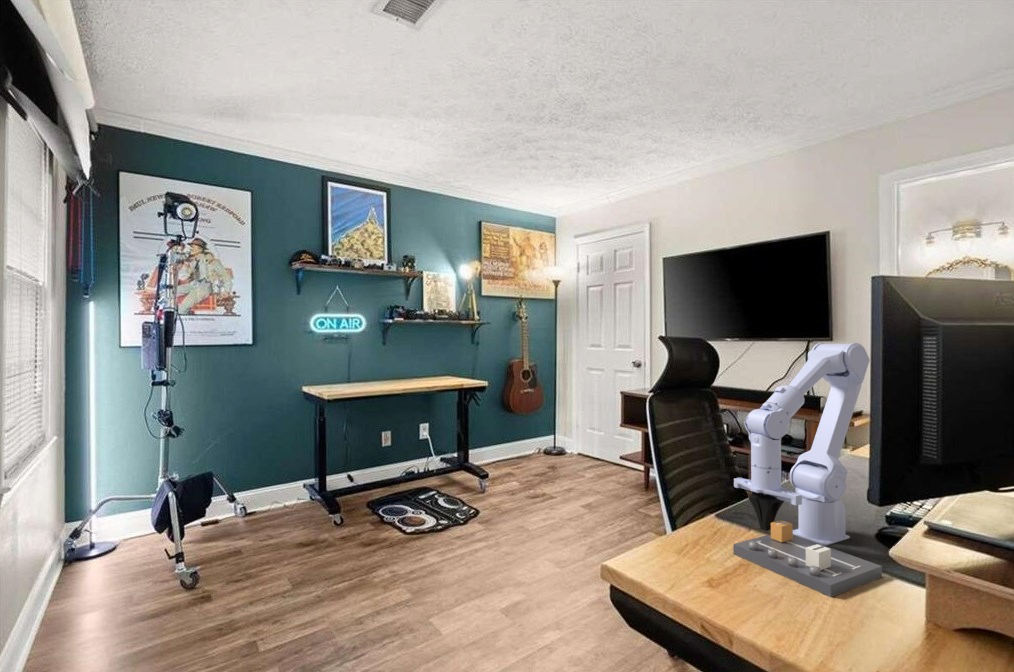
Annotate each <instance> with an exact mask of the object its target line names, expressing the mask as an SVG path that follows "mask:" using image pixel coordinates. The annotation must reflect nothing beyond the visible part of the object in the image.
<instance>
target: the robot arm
mask: <svg viewBox="0 0 1014 672" xmlns="http://www.w3.org/2000/svg"><path fill="white" fill-rule="evenodd" d="M870 361H871V360H870V357H869V355H868V353H867V351H866V349H865V347H864V346H863V345H862V344H861V343H858V342H851V343H824V342H818V343H817V344H814V346H813V347H812V348H811V350H809V351H808V353H807V361H805V363H804V365H803V366H802V367H801V368H800V370H799V371H798V372H797V374H796V375H795V377H793V379H792V380H791V381H790V383H789V384H788V385H780V386H777V387H776V388H775V389H774V392H773V393H772V394H771V396H770V397H769V398H768V399H766V401H765V402H764V403H762V404H761V407H760V408H757V409H756V408H755V409H753V410H751V411H750V412H749V413H748V414H747V415H746V418H745V421H743V424H744V428H745V429H746V431H747V433H748V440H749V443H750V472H751V473H750V479H749V478H748V479H747V478H743V477H736V478H733V487H734V488H736V489H744V490H746V491H750V492H752V493H751V494H749V495H748V500H749V501H750V503H751V505H752V507H753V509H754V511H755V514H756V518H757V520H758V525H759V529H760V530H762V531H766V532H768V531H771V523H772V522H775V521H776V520H775V519H776V517H777V514H778V512H779V510H780V509H781V507H782V505H783V504H784V502H787V503H789V504H791V505H793V506H796V507H797V506H798V507H797V508H798V519H797V520H798V528H796V529H793V534H794V535H796V536H799V537H802V538H805V539H808V540H810V541H813V542H816V543H819V544H822V545H824V546H829V545H832V544H836V543H839V542H842V541H845V540H849V539H850V538H851V537H850V535H847V534H846V508H845V507H846V506H845V505H844V503H843V502H842V500H841V499H842V497H843V496H844V494H845V493H846V490H847V475H848V472H849V471H848V470H847V468H846V466H844V465H843V463H842V462H841V461H840V460H839V457H840V455H841V451H842V448H843V445H844V442H845V438H846V436H847V432H848V430H849V427H850V422H851V420H852V418H853V414H854V410H855V407H856V404H857V401H858V399H859V394H860V391H861V389H862V384H863V382H864V379H865V376H866V373H867V371H868V367H869V364H870ZM822 378H823V379H824V381H826V382H827V383H829V385H830V390H829V393H828V396H827V399H826V402H825V405H824V408H823V412H822V414H821V416H820V420H819V423H818V426H817V430H816V433H815V436H814V439H813V441H812V445H811V448H810V450H808V451H806V452H804V453H802V454H799V455H798V457H797V459H796V460H797V461H796V462H795V464H794V465H793V466H792V467H791V469H790V471H789V482H790V484H791V486H792V487H793V488H794V489H795V492H794V491H791V490H790V489H787V488H785V487H783V486H782V438H783V437H784V436H785V435H786V434H787V433H788V429H789V424H790V423H791V418H792V417H794V415H795V414H796V413H797V412H798V411H799V410H800V409H801V407H802V406H803V405H804V404H805V396H804V395H805V394H807V392H809V390H810V389H812V388H813V387H814V386H815V385H816V384H817V383H818V382H819V381H820V380H822Z"/></svg>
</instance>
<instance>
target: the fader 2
mask: <svg viewBox="0 0 1014 672" xmlns="http://www.w3.org/2000/svg"><path fill="white" fill-rule="evenodd" d="M824 546H825V545H824ZM824 546H821V545H818V544H816V545H813V546H810V547H806V566H809V567H810V566H817V567H819V568H820V570H823V569H826V568H828V567H831V549H829V548H827V547H828V546H827V547H824Z"/></svg>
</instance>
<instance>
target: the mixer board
mask: <svg viewBox="0 0 1014 672" xmlns="http://www.w3.org/2000/svg"><path fill="white" fill-rule="evenodd" d="M816 544H818V545H821V546H824V547H827V548H829V549H831V567H828V568H826V569H823V570H820V568H819V567H817V566H810V567H809V566H806V547H810V546H813V545H816ZM732 547H733V548H732V549H733V552H732V553H733V554H734V555H735V556H737V557H740V558H742V559H744V560H747V561H748V562H751V563H753V564H756V565H757V566H760V567H762V568H765V569H767V570H769V571H770V572H773V573H776V574H778V575H780V576H782V577H785V578H787V579H789V580H791V581H794V582H796V583H798V584H800V585H802V586H805V587H808V588H810V589H812V590H814V591H816V592H819V593H821V594H822V595H825V596H828V597H829V598H832V597H834V596H836V595H839V594H842V593H844V592H847V591H850V590H852V589H855V588H857V587H860V586H863V585H865V584H868V583H870V582H873V581H876V580H878V579H881V578H883V566H882V565H880V564H877V563H876V562H875V563H874V562H872V561H869V560H865V559H864V558H863V559H862V558H860V557H858V556H855V555H852V554H849V553H846V552H844V551H841V550H838V549H835V548H832V547H829V546H828V545H826V546H825V545H822V544H819V543H816V542H813V541H810V540H808V539H805V538H802V537H799V536H796V535H794V534H793V539H792V540H789V541H785V542H779V541H777V540H774V539H771V533H770V534H765V535H763V536H759V537H758V536H757V537H755V538H751V539H747V540H743V541H740V542H736V543H733V546H732Z"/></svg>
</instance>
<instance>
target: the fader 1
mask: <svg viewBox="0 0 1014 672" xmlns="http://www.w3.org/2000/svg"><path fill="white" fill-rule="evenodd" d="M793 527H794V526H793V523H792V522H789V521H785V520H783V519H780V520H777V521H776V520H775V521H774V522H772V523H771V530H770V534H771V539H774V540H777V541H779V542H785V541H789V540H792V539H793V530H794V528H793Z"/></svg>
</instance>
